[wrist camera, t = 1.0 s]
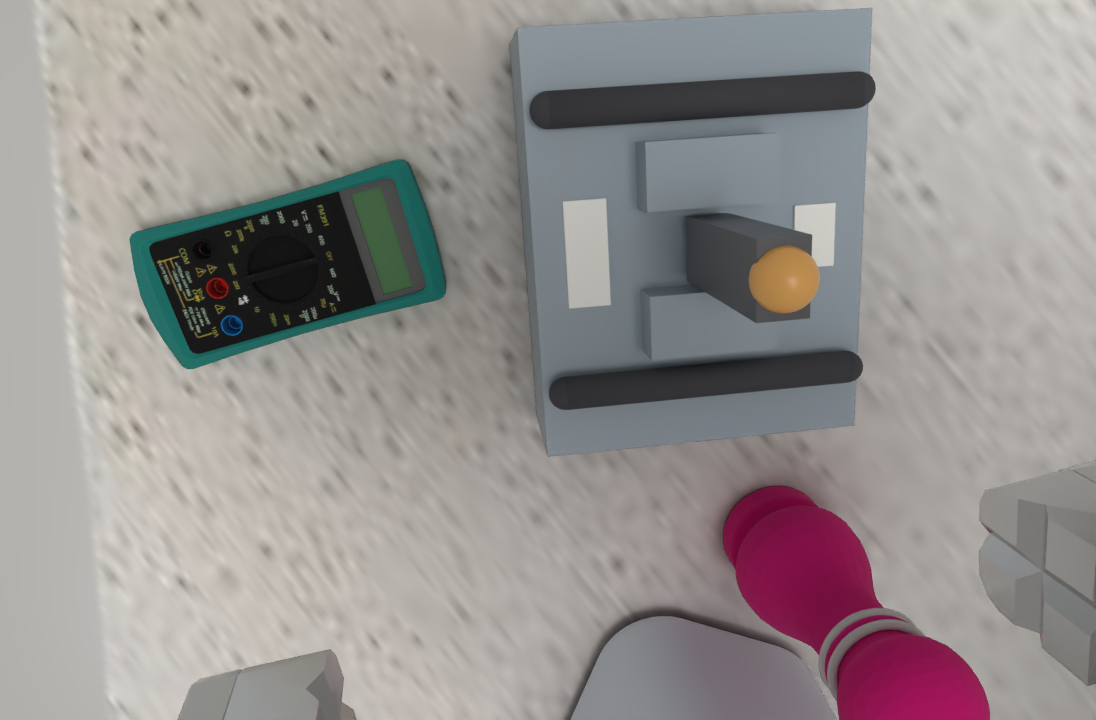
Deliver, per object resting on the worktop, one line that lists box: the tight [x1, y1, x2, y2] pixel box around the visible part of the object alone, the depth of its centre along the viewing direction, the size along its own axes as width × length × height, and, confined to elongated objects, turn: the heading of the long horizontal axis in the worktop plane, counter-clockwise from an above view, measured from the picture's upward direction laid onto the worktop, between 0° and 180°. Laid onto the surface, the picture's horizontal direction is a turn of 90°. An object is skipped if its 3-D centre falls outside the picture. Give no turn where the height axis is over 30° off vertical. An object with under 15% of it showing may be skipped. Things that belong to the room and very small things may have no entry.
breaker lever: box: [686, 213, 820, 323], centre depth 32 cm, size 2×3×11 cm
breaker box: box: [509, 8, 872, 457], centre depth 39 cm, size 16×20×8 cm
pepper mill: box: [723, 486, 990, 720], centre depth 39 cm, size 7×7×20 cm
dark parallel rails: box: [529, 71, 875, 410], centre depth 37 cm, size 16×15×2 cm
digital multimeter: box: [130, 160, 446, 369], centre depth 41 cm, size 7×15×3 cm, turn 105°
